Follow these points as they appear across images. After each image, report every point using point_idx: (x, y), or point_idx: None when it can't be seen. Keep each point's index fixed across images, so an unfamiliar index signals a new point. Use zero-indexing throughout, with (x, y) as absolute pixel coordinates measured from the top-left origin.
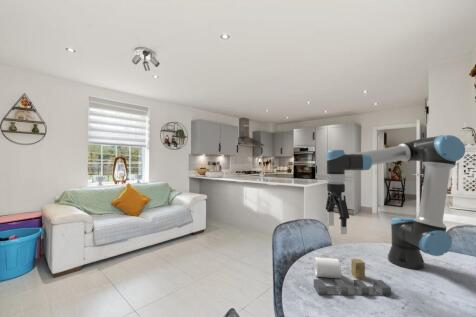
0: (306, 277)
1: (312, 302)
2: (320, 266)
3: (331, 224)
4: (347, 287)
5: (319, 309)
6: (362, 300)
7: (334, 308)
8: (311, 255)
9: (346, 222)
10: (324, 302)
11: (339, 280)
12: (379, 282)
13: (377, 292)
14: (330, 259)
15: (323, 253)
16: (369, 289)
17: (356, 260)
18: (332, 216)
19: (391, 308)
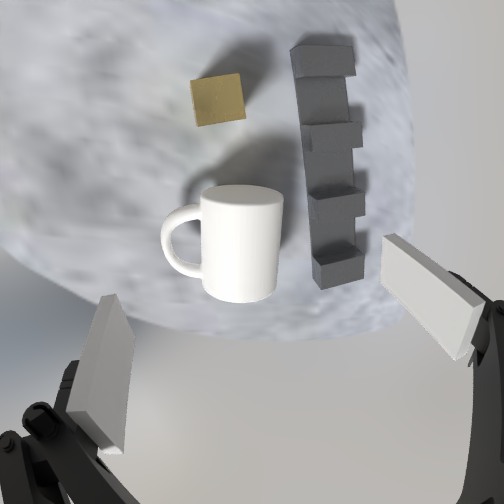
0: None
1: None
2: (276, 276)
3: (123, 322)
4: (364, 193)
5: None
6: (373, 152)
7: (402, 237)
8: (50, 268)
9: (460, 282)
10: None
11: (324, 208)
12: (321, 63)
13: (333, 85)
14: (252, 243)
15: (12, 217)
16: (318, 102)
17: (213, 105)
18: (103, 376)
19: (397, 91)
